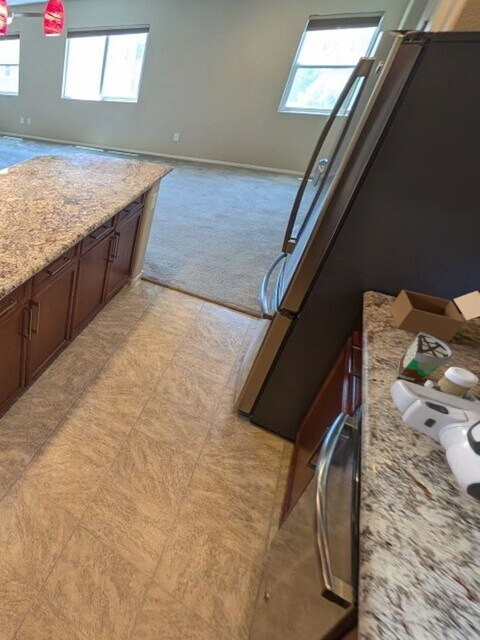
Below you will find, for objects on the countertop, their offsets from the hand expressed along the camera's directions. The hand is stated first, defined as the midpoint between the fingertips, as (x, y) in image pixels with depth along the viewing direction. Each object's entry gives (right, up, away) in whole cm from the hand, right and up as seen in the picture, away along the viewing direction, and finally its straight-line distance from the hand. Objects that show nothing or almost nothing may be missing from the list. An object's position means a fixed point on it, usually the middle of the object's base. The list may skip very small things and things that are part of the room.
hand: (447, 388), depth 89 cm
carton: (+29, +10, +31) cm, 43 cm away
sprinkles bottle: (0, -7, +3) cm, 8 cm away
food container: (+8, -1, +13) cm, 15 cm away
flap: (+35, +17, +22) cm, 44 cm away
